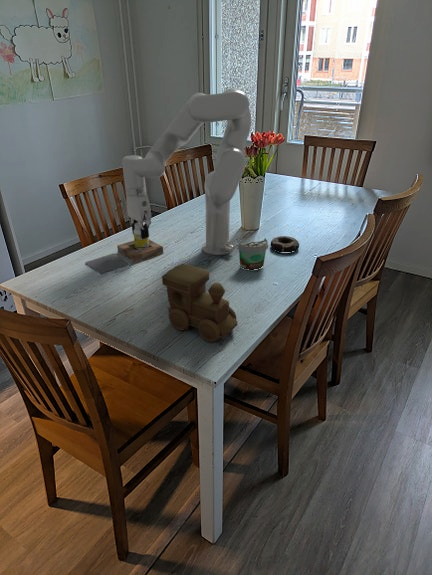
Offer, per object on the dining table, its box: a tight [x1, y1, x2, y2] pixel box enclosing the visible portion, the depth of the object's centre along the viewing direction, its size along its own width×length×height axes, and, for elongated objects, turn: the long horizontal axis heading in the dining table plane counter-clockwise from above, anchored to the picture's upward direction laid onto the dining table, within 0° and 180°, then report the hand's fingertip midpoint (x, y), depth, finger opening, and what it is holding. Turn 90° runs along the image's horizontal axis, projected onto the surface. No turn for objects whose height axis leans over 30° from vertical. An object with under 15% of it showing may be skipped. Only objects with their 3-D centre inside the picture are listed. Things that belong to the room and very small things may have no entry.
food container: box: [237, 238, 269, 270], centre depth 153 cm, size 12×6×10 cm, turn 117°
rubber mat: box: [85, 253, 130, 275], centre depth 158 cm, size 12×12×1 cm
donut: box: [270, 235, 300, 253], centre depth 170 cm, size 12×12×4 cm
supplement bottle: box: [132, 221, 149, 251], centre depth 163 cm, size 5×5×10 cm
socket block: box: [116, 238, 164, 264], centre depth 166 cm, size 13×13×3 cm
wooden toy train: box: [161, 263, 238, 343], centre depth 118 cm, size 20×11×17 cm, turn 57°
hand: (140, 235), depth 163 cm, fingers closed on supplement bottle, 5 cm apart
